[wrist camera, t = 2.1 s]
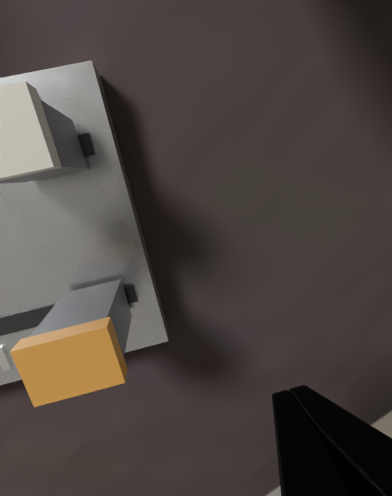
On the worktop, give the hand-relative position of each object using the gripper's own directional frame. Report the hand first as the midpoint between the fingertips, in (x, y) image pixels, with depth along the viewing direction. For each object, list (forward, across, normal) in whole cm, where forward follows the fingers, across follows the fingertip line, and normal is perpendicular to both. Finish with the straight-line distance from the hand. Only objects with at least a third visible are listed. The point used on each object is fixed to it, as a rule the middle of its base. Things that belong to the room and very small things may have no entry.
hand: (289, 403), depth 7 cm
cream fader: (+9, +7, -8) cm, 14 cm away
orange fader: (+9, +6, 0) cm, 12 cm away
